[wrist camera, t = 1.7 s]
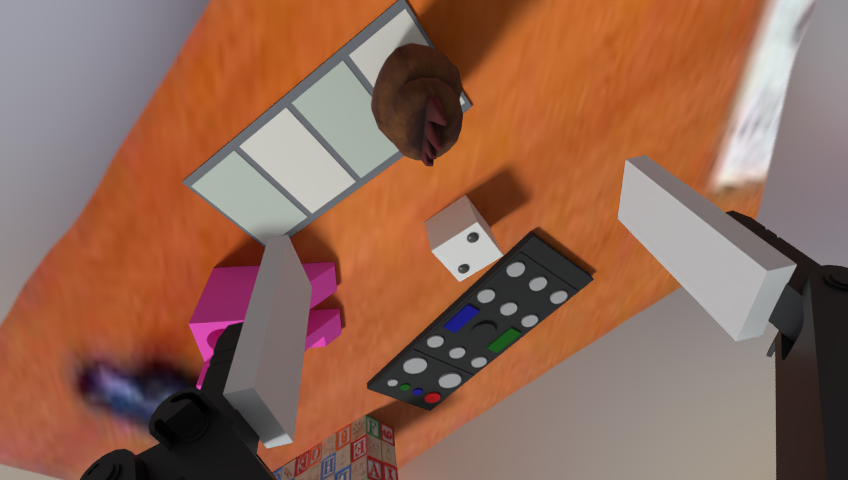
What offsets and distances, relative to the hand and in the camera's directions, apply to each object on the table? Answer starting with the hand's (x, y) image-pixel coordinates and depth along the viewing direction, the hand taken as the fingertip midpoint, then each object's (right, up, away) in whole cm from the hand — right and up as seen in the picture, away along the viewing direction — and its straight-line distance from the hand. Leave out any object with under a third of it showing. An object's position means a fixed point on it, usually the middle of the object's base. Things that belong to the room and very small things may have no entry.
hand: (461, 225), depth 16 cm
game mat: (-10, +8, +20) cm, 23 cm away
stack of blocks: (-16, -34, +49) cm, 61 cm away
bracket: (-17, -7, +30) cm, 35 cm away
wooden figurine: (-3, +12, +17) cm, 22 cm away
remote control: (+5, -12, +37) cm, 39 cm away
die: (+2, +1, +26) cm, 27 cm away
